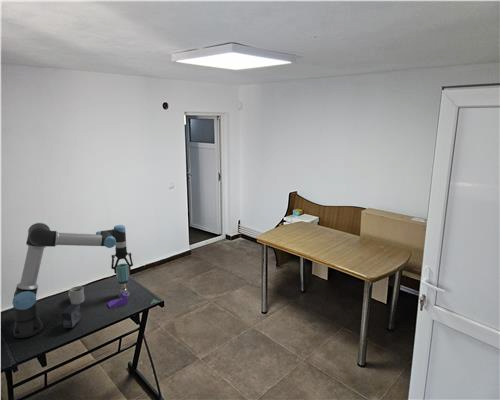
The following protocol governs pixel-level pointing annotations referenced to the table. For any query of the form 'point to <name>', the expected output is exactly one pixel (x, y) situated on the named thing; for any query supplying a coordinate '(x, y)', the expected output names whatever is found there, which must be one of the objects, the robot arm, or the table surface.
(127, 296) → the plate
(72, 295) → the mug
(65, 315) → the small box
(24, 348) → the table surface
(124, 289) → the pipe
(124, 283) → the ring
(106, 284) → the table surface
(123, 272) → the sleeve
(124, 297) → the bracket
